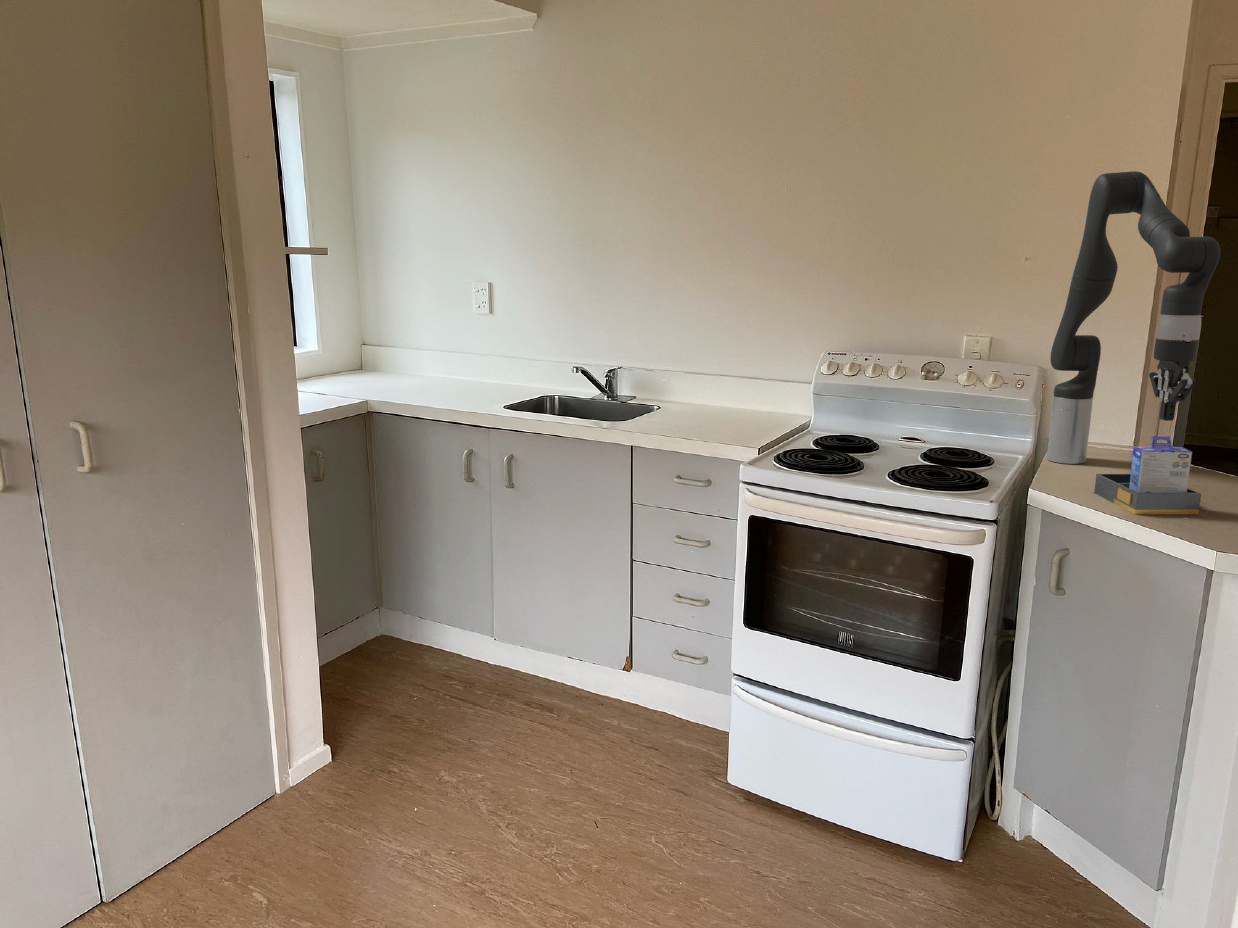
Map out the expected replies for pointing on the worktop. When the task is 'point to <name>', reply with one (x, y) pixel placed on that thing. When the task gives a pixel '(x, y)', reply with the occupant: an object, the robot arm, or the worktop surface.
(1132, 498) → the tray
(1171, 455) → the ink cartridge box
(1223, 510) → the worktop surface
